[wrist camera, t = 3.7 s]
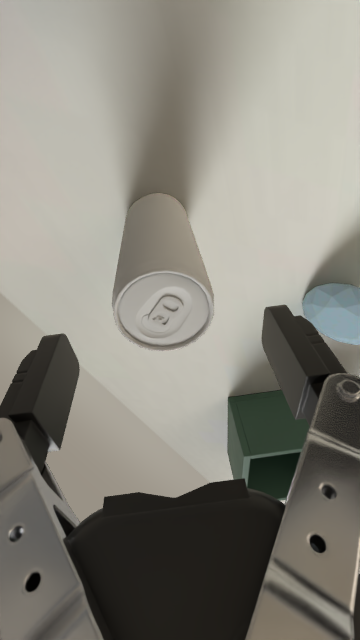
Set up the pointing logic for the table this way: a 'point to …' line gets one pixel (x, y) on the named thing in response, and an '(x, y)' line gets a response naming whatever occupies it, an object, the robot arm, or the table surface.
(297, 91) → the table surface
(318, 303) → the gemstone
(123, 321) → the beverage can
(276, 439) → the bin
